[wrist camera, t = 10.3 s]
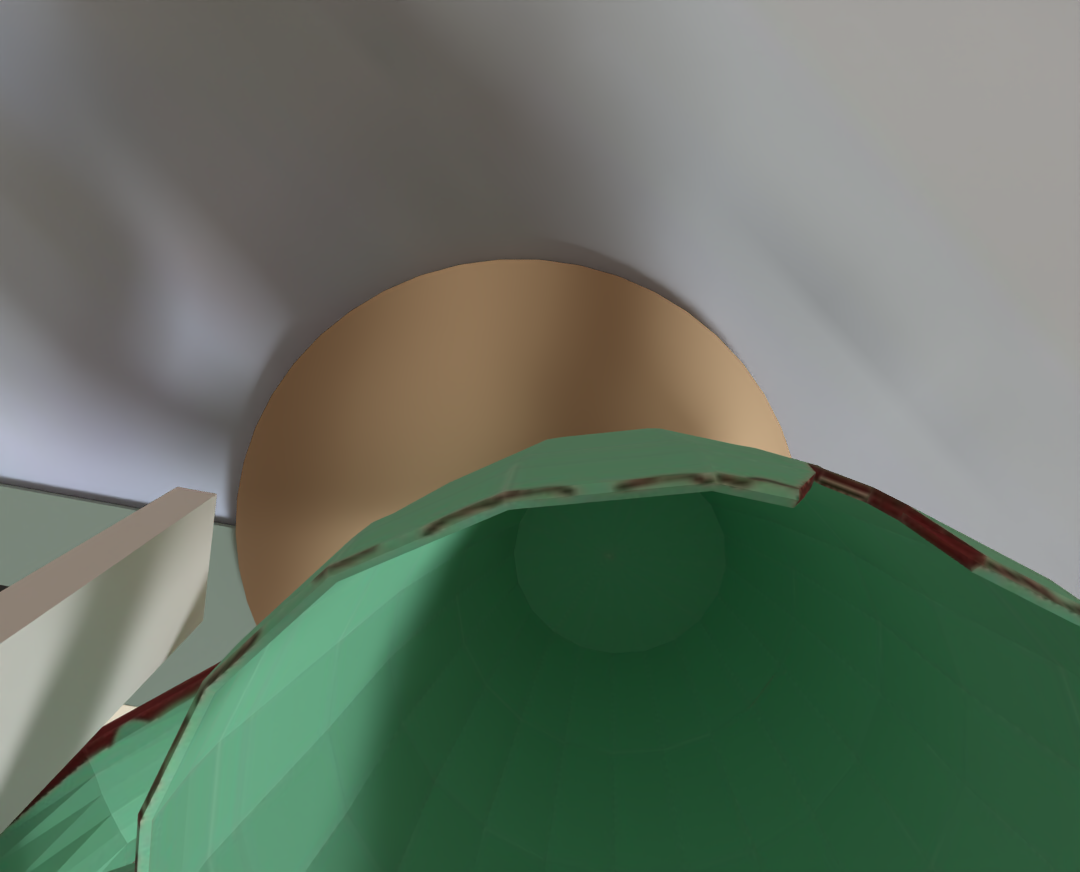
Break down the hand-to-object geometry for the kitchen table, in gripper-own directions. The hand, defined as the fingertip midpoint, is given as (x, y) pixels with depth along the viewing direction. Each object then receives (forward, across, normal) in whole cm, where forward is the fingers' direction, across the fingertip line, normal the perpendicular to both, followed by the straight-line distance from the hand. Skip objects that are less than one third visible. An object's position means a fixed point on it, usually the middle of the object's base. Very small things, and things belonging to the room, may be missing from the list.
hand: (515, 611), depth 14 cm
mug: (+2, 0, 0) cm, 2 cm away
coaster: (+4, 0, 0) cm, 4 cm away
